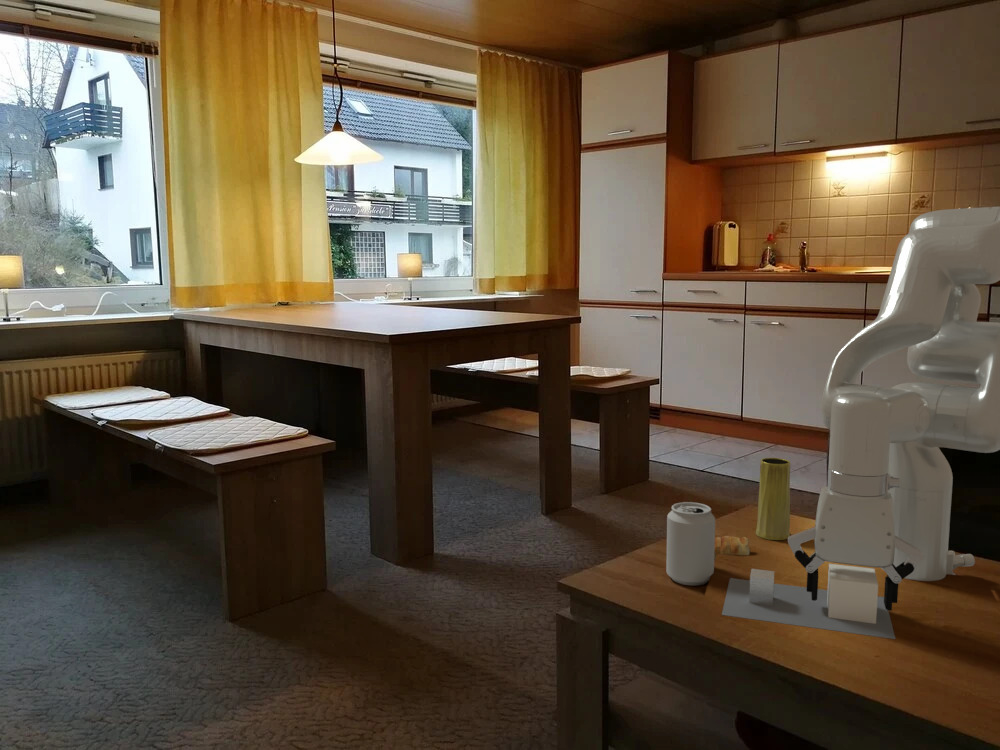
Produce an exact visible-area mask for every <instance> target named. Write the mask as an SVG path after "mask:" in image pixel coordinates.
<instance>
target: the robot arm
mask: <svg viewBox="0 0 1000 750" xmlns="http://www.w3.org/2000/svg"><path fill="white" fill-rule="evenodd" d="M999 281H1000V206H984V207H969V208H967V207H966V208H965V207H964V208H949V209H940V210H939V209H937V210H934V211H929V212H928V211H927V212H925V213H922V214H919V215H918V216H917V217H915V218H914V219H913V221H912V222H911V224H910V226H909V230H908V233H907V234H906V235H905V236H904V237H903V238H901V240H900V242H899V243H898V246H897V248H896V252H895V254H894V259H893V262H892V266H891V269H890V273H889V276H888V280H887V283H886V287H885V290H884V294H883V298H882V300H881V303H880V309H879V312H878V314H877V316H876V318H875V319H874V320H873V321H872V322H870V323H869V324H867V325H866V326H864V327H863V328H862V329H860V330H859V331H858V332H857V333H856V334H855V335H853V336H852V338H850V339H849V341H847V342H846V344H845V345H844V346H842V348H840V350H839V351H838V353H837V354H836V355H835V357H834V359H833V361H832V363H831V365H830V367H829V370H828V375H827V378H826V381H825V385H824V388H823V391H822V396H821V400H820V408H819V409H820V410H819V411H820V418H821V420H822V421H821V422H822V423H823V424H824V426H825V427H826V429H828V430H830V431H829V448H828V449H829V452H828V453H829V455H828V468H827V469H828V470H827V486H822V487H821V489H820V493H819V496H818V497H819V498H818V502H817V506H816V507H817V508H816V515H815V524H814V526H813V527H810V528H809V529H805V530H802V531H800V532H797V533H794V534H790V536H789V537H788V539H787V543H788V546H789V548H790V549H791V551H792V554H793V555H794V558H795V559H796V560H797V561H798V562H799V563H800V564H801V565H802V567H803V568H804V569H805V570H806V575H807V576H806V588H807V592H811V594H812V600H814V601H816V600H817V593H818V589H819V567H821V566H822V565H823V564H824V563H825V562H826V563H832V564H840V565H848V566H857V567H866V568H879V569H880V568H881V570H883V571H884V572H885V573H886V576H885V577H884V578H885V579H884V591H883V593H884V595H883V597H884V604H885V608H886V609H887V610H888V611H889V612H892V610H893V604H898V596H899V595H898V594H899V584H900V583H901V582H902V580H903V579H905V580H911V581H919V582H920V581H921V582H934V581H940V580H943V579H944V578H946V576H947V575H951V576H956V573H954V572H953V571H954V570H956V569H957V568H959V567H973V566H974V565H975V563H976V560H975V557H974V555H973V554H971V553H966V554H965V553H962V554H956V552H955V551H954V550H949V540H950V539H949V538H950V525H951V524H950V523H951V509H952V508H951V507H952V496H953V495H952V494H953V483H954V482H953V481H954V480H953V479H954V477H953V472H952V468H951V465H950V463H949V461H948V460H947V458H946V457H945V455H944V453H943V452H942V451H941V449H940V448H947V449H954V450H960V451H968V452H975V453H984V454H987V453H988V454H990V453H995V452H998V451H1000V322H994V321H993V322H992V321H978V320H977V319H978V316H979V313H980V312H979V311H980V307H981V304H982V296H981V293H980V290H979V288H978V287H977V286H976V285H992V284H996V283H997V282H999ZM906 348H908V349H907V355H906V364H907V366H908V369H909V370H910V372H911V373H912V374H914V375H916V376H918V377H921V378H925V379H930V380H935V381H936V380H937V381H946V382H955V383H956V382H957V383H968V384H970V383H971V384H979V387H969V386H961V385H960V386H957V385H950V384H941V383H940V384H939V383H931V382H930V383H929V382H917V381H915V382H904V383H900V384H896V385H894V386H892V387H884V386H876V385H867V384H857V381H858V378H859V376H860V375H861V373H862V372H863V371H864V370H865V369H866V368H867V367H868V366H870V365H871V364H872V363H873V362H875V361H876V360H878V359H880V358H882V357H884V356H887V355H889V354H892V353H895V352H898V351H901V350H904V349H906ZM811 540H813V546H814V552H812V554H811V555H808V554H807V552H805V550H803V548H802V546H801V544H803V543H807V542H809V541H811Z"/></svg>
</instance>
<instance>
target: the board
mask: <svg viewBox="0 0 1000 750" xmlns="http://www.w3.org/2000/svg"><path fill="white" fill-rule="evenodd" d="M827 593H828V589H822V588H818V593H817V600H816V601H814V600H812V594H811V592H807V586H797V585H789V584H782V583H781V584H780V583H774V591H773V606H770V605H762V604H755V603H749V596H750V579H749V580H748V579H740V578H734V577H731V578H730V577H729V581H728V586H727V590H726V594H725V599H724V604H723V607H722V611H721V616H725V617H733V618H740V619H746V620H747V619H748V620H755V621H763V622H770V623H777V624H784V625H791V626H797V627H805V628H811V629H818V630H826V631H827V630H828V631H833V632H834V631H835V632H839V633H840V632H841V633H847V634H856V635H862V636H863V635H864V636H868V637H869V636H870V637H875V638H876V637H877V638H883V639H890V640H891V639H892V640H896V635H895V631H894V628H893V623H892V619H891V616H890V615H891V614H890V611H889V610H887V609H886V608H885V604H884V596H878V597H877V615H876V624H874V623H866V622H859V621H852V620H844V619H837V618H829V617H828V605H827Z"/></svg>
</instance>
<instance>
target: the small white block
mask: <svg viewBox="0 0 1000 750" xmlns="http://www.w3.org/2000/svg"><path fill="white" fill-rule="evenodd" d="M749 580H750V596H749V603H755V604H762V605H770V606H773V591H774V584H775V571H774V570H766V569H759V568H758V569H757V568H751V570H750V575H749Z"/></svg>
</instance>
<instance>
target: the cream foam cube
mask: <svg viewBox="0 0 1000 750" xmlns="http://www.w3.org/2000/svg"><path fill="white" fill-rule="evenodd" d="M827 578H828V579H827V590H828V593H827V605H828V617H829V618H837V619H844V620H852V621H859V622H866V623H874V624H876V615H877V597H878V594H879V582H878V576H877V573H876V570H875V568H873V567H864V566H855V565H846V564H837V563H828V574H827Z"/></svg>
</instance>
